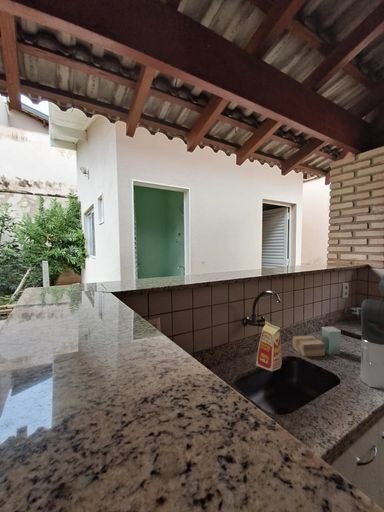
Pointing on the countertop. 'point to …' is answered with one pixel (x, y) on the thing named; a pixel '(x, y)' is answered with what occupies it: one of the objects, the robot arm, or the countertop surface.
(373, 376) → the robot arm
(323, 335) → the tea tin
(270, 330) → the milk carton
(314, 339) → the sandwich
